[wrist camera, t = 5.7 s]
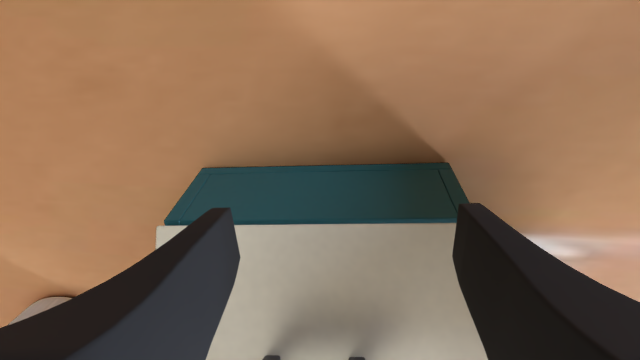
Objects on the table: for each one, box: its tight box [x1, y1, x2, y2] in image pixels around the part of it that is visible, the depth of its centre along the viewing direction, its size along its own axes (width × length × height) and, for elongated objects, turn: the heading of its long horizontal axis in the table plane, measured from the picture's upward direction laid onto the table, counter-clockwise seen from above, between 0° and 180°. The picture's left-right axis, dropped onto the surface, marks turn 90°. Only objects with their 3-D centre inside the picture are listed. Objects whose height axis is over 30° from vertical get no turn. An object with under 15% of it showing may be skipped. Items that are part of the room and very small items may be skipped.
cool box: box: [164, 163, 469, 226], centre depth 23 cm, size 11×15×6 cm
